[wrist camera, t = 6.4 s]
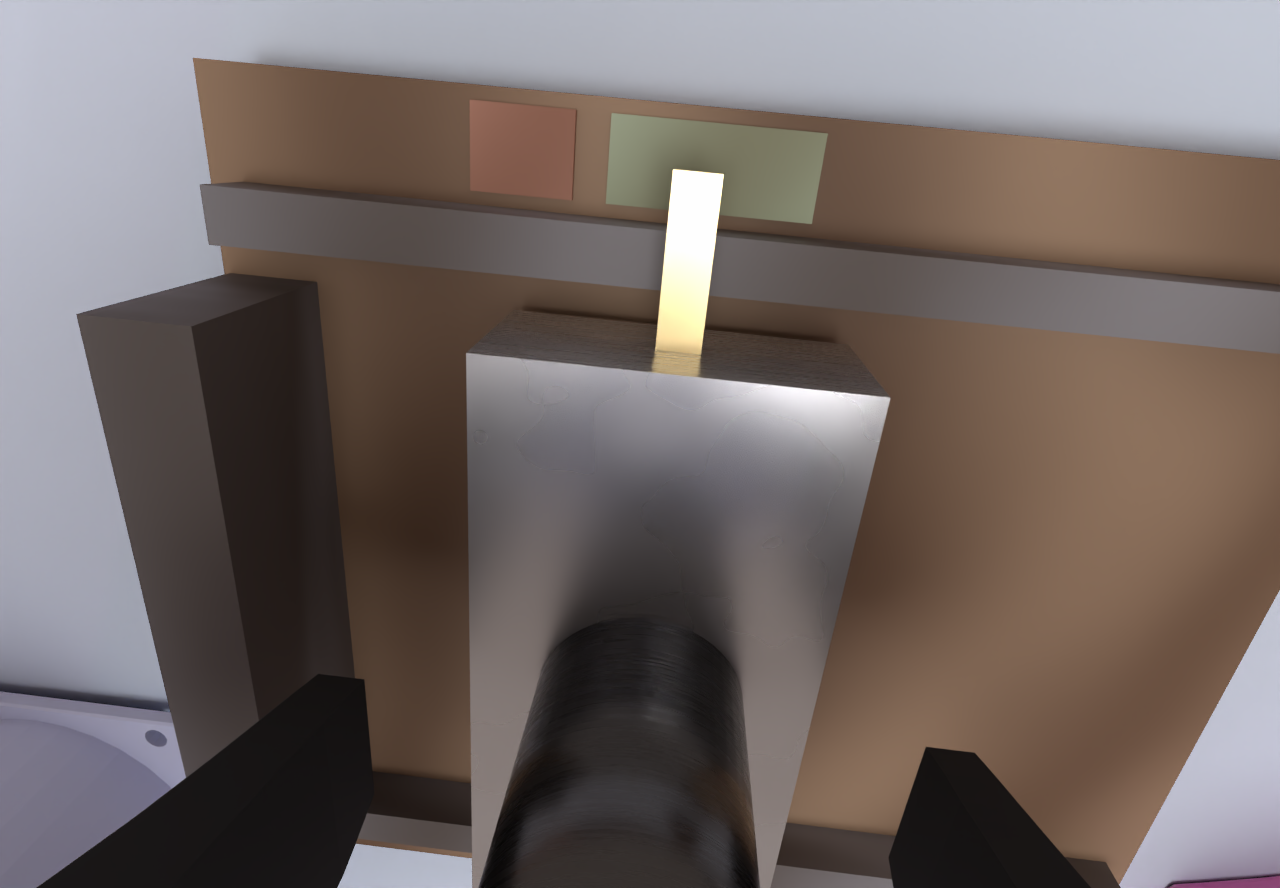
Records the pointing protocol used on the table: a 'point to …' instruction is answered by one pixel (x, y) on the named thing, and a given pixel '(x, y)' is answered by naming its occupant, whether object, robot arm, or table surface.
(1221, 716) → the table surface
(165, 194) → the table surface
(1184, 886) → the gum box
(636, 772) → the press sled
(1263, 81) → the table surface
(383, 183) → the press base
